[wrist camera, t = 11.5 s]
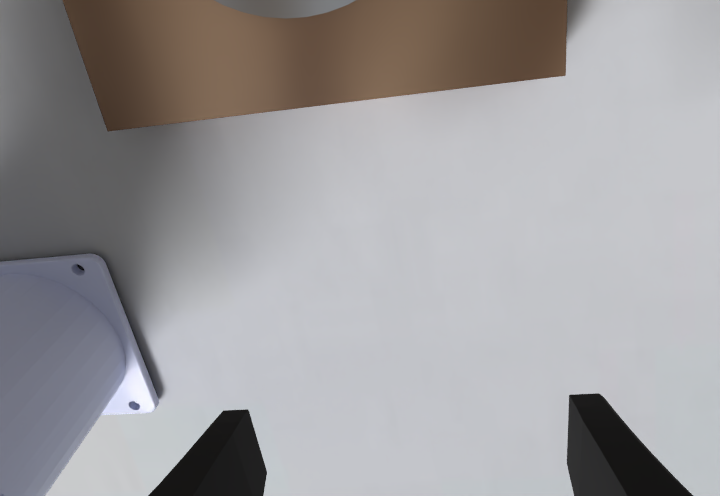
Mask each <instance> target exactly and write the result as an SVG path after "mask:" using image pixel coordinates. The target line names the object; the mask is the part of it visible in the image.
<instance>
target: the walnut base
mask: <svg viewBox="0 0 720 496" xmlns="http://www.w3.org/2000/svg"><path fill="white" fill-rule="evenodd" d="M63 3H64V6H65V9H66V12H67V15H68V18H69V21H70V24H71V26H72V29H73V32H74V35H75V38H76V41H77V44H78V47H79V50H80V53H81V55H82V58H83V61H84V64H85V67H86V70H87V73H88V76H89V79H90V82H91V84H92V87H93V90H94V93H95V96H96V99H97V102H98V105H99V108H100V111H101V113H102V116H103V119H104V122H105V125H106V128H107V131H115V130H123V129H132V128H140V127H148V126H156V125H164V124H173V123H181V122H189V121H197V120H205V119H214V118H222V117H230V116H238V115H246V114H254V113H263V112H271V111H279V110H287V109H295V108H304V107H312V106H320V105H328V104H336V103H345V102H353V101H361V100H369V99H377V98H386V97H394V96H402V95H410V94H418V93H427V92H435V91H443V90H451V89H459V88H467V87H476V86H484V85H492V84H500V83H508V82H517V81H525V80H533V79H541V78H549V77H558V76H565V75H566V33H567V0H63Z"/></svg>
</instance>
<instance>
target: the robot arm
mask: <svg viewBox="0 0 720 496" xmlns="http://www.w3.org/2000/svg"><path fill="white" fill-rule="evenodd" d="M77 264H78V265H81V266H82V267H83V268H84V271H83V270H81V269H79V268H78V266H77ZM134 401H135V402H137V403H139V404H137V403H135V402H134ZM158 403H159V400H158V397H157V394H156V392H155V389H154V387H153V384H152V381H151V379H150V376H149V374H148V371H147V369H146V366H145V363H144V361H143V358H142V356H141V353H140V350H139V348H138V345H137V343H136V340H135V338H134V335H133V332H132V330H131V327H130V325H129V322H128V320H127V317H126V314H125V312H124V309H123V307H122V304H121V301H120V299H119V296H118V294H117V291H116V289H115V286H114V283H113V281H112V278H111V276H110V273H109V271H108V268H107V265H106V263H105V261H104V260H103V259H102V258H101V257H100V256H98V255H96V254H80V255H69V256H58V257H47V258H36V259H24V260H13V261H2V262H0V496H45V495H46V494H47V492H48V491H49V489H50V488H51V486H52V485H53V484H54V482H55V481H56V479H57V478H58V476H59V475H60V473H61V472H62V470H63V469H64V468H65V466H66V465H67V463H68V462H69V460H70V459H71V457H72V456H73V454H74V453H75V452H76V450H77V449H78V447H79V446H80V444H81V443H82V441H83V440H84V438H85V437H86V436H87V434H88V433H89V431H90V430H91V428H92V427H93V425H94V424H95V422H96V421H97V420H98V418H99V417H100V415H113V414H135V413H150V412H153V411H154V410H155V409H156V407H157V406H158ZM567 466H568V470H569V474H570V479H571V483H572V488H573V492H574V496H693V495H692V494H691V493H690V492H689V491H688V490H687V489H686V488H685V487H684V486H683V485H682V484H681V483H680V482H679V481H678V480H677V479H676V478H675V477H674V476H673V475H672V474H671V473H670V472H669V471H668V470H667V469H666V468H665V467H664V466H663V465H662V464H661V463H660V461H659V460H658V459H657V458H656V457H655V456H654V455H653V454H652V453H651V452H650V451H649V450H648V449H647V448H646V446H645V445H644V444H643V443H642V442H641V441H640V440H639V439H638V437H637V436H636V435H635V434H634V433H633V432H632V431H631V430H630V428H629V427H628V426H627V425H626V424H625V423H624V421H623V420H622V419H621V418H620V417H619V415H618V414H617V413H616V412H615V411H614V409H613V408H612V407H611V406H610V404H609V403H608V402H607V401H606V399H605V398H604V397H603V396H601V395H600V394H579V395H569V421H568V449H567ZM266 475H267V471H266V468H265V464H264V461H263V457H262V454H261V451H260V447H259V444H258V441H257V437H256V434H255V431H254V427H253V424H252V421H251V417H250V414H249V411H248V410H229V411H223V412H222V413H221V414H220V415H219V416H218V417H217V419H216V420H215V421H214V422H213V423H212V424H211V425H210V427H209V428H208V429H207V430H206V431H205V432H204V434H203V435H202V436H201V437H200V438H199V439H198V441H197V442H196V443H195V444H194V445H193V446H192V448H191V449H190V450H189V451H188V452H187V453H186V455H185V456H184V457H183V458H182V459H181V460H180V461H179V463H178V464H177V465H176V466H175V467H174V468H173V469H172V470H171V472H170V473H169V474H168V475H167V476H166V477H165V478H164V479H163V481H162V482H161V483H160V484H159V485H158V486H157V487H156V488H155V489H154V490H153V491H152V492H151V493H150V494H149V496H263V493H264V487H265V481H266Z"/></svg>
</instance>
